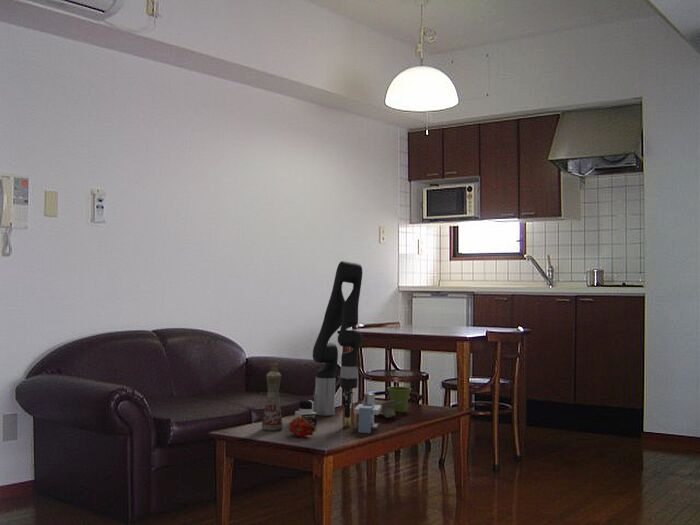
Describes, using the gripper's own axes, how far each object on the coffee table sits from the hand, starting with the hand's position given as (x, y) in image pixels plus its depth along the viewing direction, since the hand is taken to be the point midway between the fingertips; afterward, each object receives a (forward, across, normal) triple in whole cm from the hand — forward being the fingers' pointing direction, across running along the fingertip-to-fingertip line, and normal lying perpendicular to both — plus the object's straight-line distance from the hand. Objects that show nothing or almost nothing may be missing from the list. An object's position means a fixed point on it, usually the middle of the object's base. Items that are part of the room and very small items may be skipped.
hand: (347, 416), depth 348 cm
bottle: (+4, +17, -29) cm, 34 cm away
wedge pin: (+4, 0, 0) cm, 4 cm away
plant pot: (+4, -47, +18) cm, 51 cm away
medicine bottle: (+4, +12, -16) cm, 20 cm away
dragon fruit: (+4, +29, -14) cm, 33 cm away
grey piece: (+4, +2, +9) cm, 10 cm away
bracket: (+4, +7, +9) cm, 12 cm away
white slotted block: (+5, -28, +12) cm, 31 cm away
